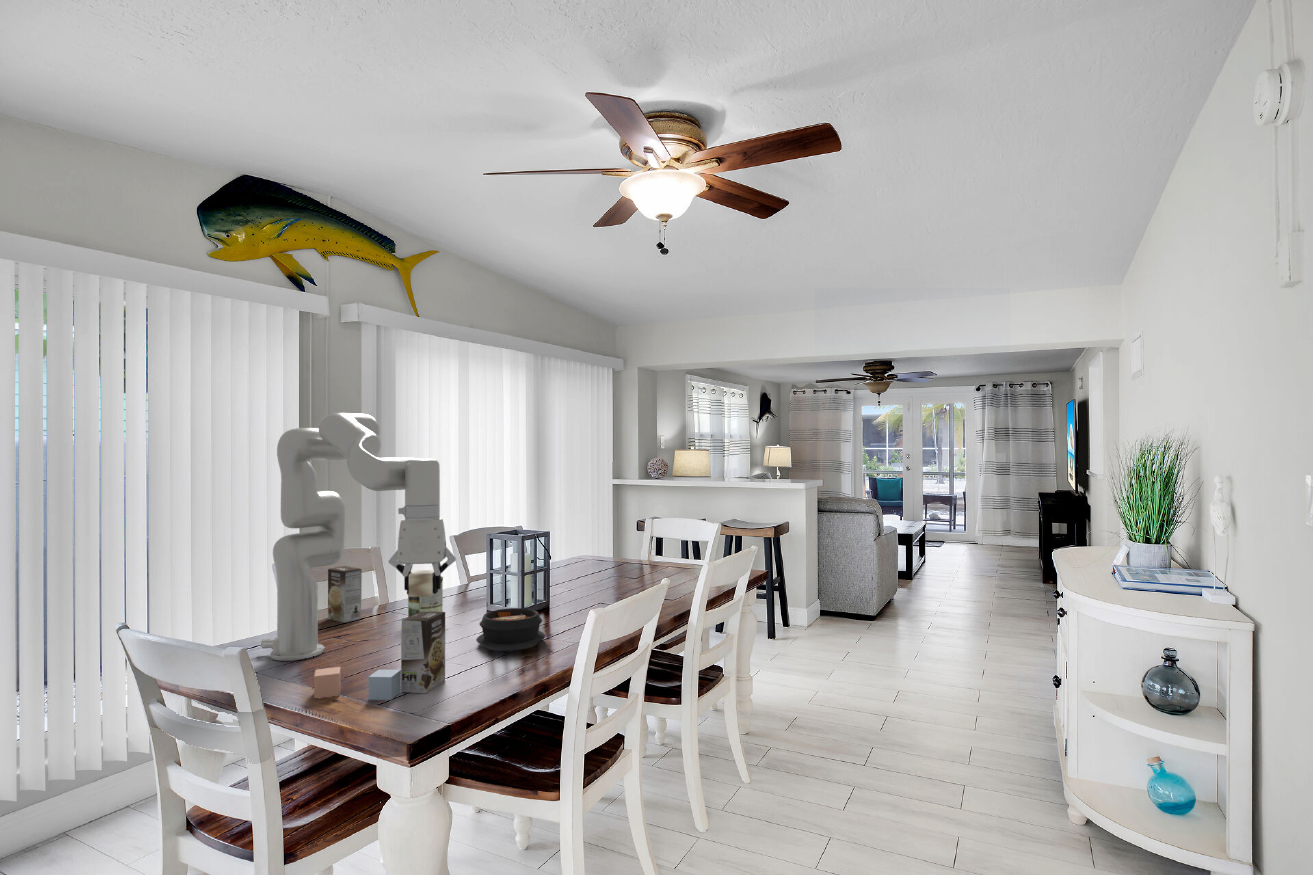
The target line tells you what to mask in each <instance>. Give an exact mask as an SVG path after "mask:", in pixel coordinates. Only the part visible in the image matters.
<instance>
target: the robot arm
mask: <svg viewBox="0 0 1313 875" xmlns="http://www.w3.org/2000/svg"><path fill="white" fill-rule="evenodd" d="M277 442H278V443H277V445H276V447H277V448H276V458H277V462H278V466H279V470H280V477H281V478H280V481H281V483H280V520H281V523H282V525H283V526H284V527H286V528H289V529H308V528H317V527H318V531H307V532H300V533H299V532H298V533H292V534H287V535H285V536H284V535H283V536H282V537H280V538H279V539H278V540H277V541H276V542H275V544H274V545H273V548H272V557H273V564H274V568H275V573H276V590H277V591H276V593H277V594H276V598H277V599H276V601H277V602H276V604H277V606H276V607H277V609H276V610H277V611H276V612H277V613H276V614H277V615H276V620H277V621H276V625H277V626H276V627H277V628H276V632H277V633H276V638H275V637H274V639H270V638H268V639H262V640H260V641H261V642H260V647H261V648H262V649H272V651H271V652H270V654H269V655H270V659H272V660H275V661H278V662H279V661H280V662H281V661H283V662H288V661H300V660H306V659H310V658H314V657H317V656H319V655H322V654H323V653H324V652H325V645H323V644H321V643H318V633H319V630H318V629H319V625H318V624H319V623H318V620H319V619H318V618H319V617H318V615H319V612H318V609H319V607H318V605H319V604H318V603H319V602H318V601H319V599H318V598H319V597H318V596H319V592H318V590H319V588H318V582H317V580H316V578H315V577H314V576H313V574H312V573H311V572H310V569H314V568H318V567H326V566H331V565H334V564H337V563H338V562H340V561H341V559H342V557H343V555H344V552H345V550H344V549H345V538H346V537H345V534H346V533H345V532H346V530H345V528H346V527H345V526H346V507H345V504H344V503H345V502H344V500H343V498H342V497H341V495H340V494H339V493H337V492H335V491H332V490H318V475H317V472H316V470H315V468H314V467H313V465H312V464H311V461H343V460H346V464H347V469H348V472H349V474H350V477H351V478H353V479H354V480H355V481H356V482H358V483H359V484H361V485H362V486H363V487H365V489H366V488H367V489H369V490H371V491H374V492H386V491H387V492H388V491H402V490H403V491H404V505H403V507H398V510H397V511H398V515H403V517H404V518H403V519H401V520H400V523H399V524H400V525H399V529H398V537H397V538H398V539H397V540H398V541H397V550H396V551H395V552H394V554H393V555H392V556H391V557H390V558H389V560H388V564H390V566H392V567H393V568H395V569H396V570H397V571H398V572H399V573H400V574H401V575H402V577H404V578H403V579H404V581H403V582H404V583H403V584H404V587H403V589H404V591H406V595H407V596H408V594H409V574H410V573H411V572H412V571H413V570H412V569H413V566H414V565H429V564H430V565H431V566H432V570H434V576H433V594H436V593H437V592H438V589H440V588H441V574H442V573H443V572H444V571H445V570H447V568H448V567H450V566H451V565H452V564H454V562H456V560H457V558H456V556H455V555H454V554H453V553H452V552H451V550H450V549H449V548H448V547H447V539H446V530H445V523H444V520H443V517H441V514H440V511H441V509H440V504H441V502H440V500H441V498H440V496H441V495H440V494H441V493H440V492H441V491H440V489H441V488H440V487H441V486H440V484H441V483H440V482H441V480H440V470H441V469H440V463H439V461H438V460H437V459H435V458H415V457H378V455H379V453H380V450H381V445H382V444H381V440H380V426H379V424H378V421H377V420H376V419H375V418H374V417H373V416H371V415H369V414H366V413H351V412H333V413H330V414H327V415H326V416H324V417H323V418H322V419H321V420H320V421H319V423H318V427H297V428H292V429H289V430H286V431H285V432H283V434H282V435H280V437H279V440H278V441H277ZM309 461H310V462H309ZM444 559H446V561H445V562H443V563H442V564H441V562H442V561H444ZM322 652H323V653H322ZM313 656H314V657H313ZM305 658H306V659H305Z"/></svg>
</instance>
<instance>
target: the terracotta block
mask: <svg viewBox="0 0 1313 875" xmlns="http://www.w3.org/2000/svg"><path fill="white" fill-rule="evenodd" d="M313 681H314V682H313V690H314V691H313V699H314V698H318V697H327V698H332V697H331V696H335V697H341V696H340V694H341V666H334V667H326V668H325V667H324V668H316V669H315V671H314V675H313Z"/></svg>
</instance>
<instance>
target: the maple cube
mask: <svg viewBox="0 0 1313 875" xmlns="http://www.w3.org/2000/svg"><path fill="white" fill-rule="evenodd" d="M433 576H434V569H432V570H431V569H428V570H427V569H425V570H424V569H422V570H412V571H411V573H410V574H409V597H423V596H433Z"/></svg>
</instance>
